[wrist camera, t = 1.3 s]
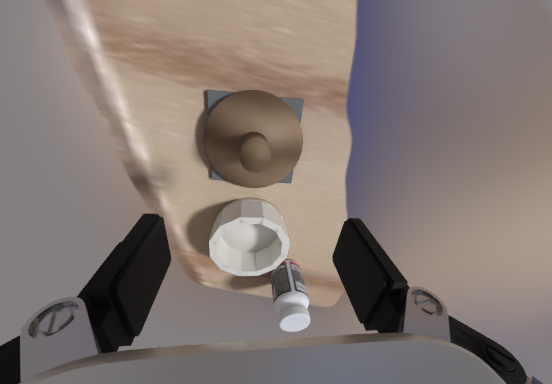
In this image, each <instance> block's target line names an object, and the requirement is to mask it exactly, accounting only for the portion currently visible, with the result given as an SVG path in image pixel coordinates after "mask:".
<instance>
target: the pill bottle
mask: <svg viewBox="0 0 552 384" xmlns="http://www.w3.org/2000/svg"><path fill="white" fill-rule="evenodd" d="M270 276H271V284H272V294H273V302H274V309H275V311H276V312H277V313H278V314H279V317H278V318H279V324H280V327H281V329H283V330H284V331H288V332H295V331H300V330H302V329H304V328H306V327H307V326H308V325H309V324H310V316H309V312H308V310H307V308H308V305H309V300H308V296H307V292H306V288H305V285H304V281H303V277H302V273H301V270H300V267H299V265H298V264H297V263H296V262H295V261H292V260H283V261H282V262H281V264H280V265H279V266H278V267H277V268H276V269H274V270H271V271H270Z"/></svg>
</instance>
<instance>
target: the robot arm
mask: <svg viewBox="0 0 552 384" xmlns="http://www.w3.org/2000/svg"><path fill="white" fill-rule="evenodd" d="M170 262H171V254H170V249H169V244H168V240H167V235H166V230H165V225H164V220H163V218H162V217H159V215H158V214H143V215H142V217H141V218H140V219H139V220H138V222H137V223H136V224H135V226H134V227H133V228H132V230H131V231H130V232H129V234H128V235H127V236H126V237H125V239H124V240H123V241H122V242H120V243H119V244H118V245H117V246H116V247H115V249H114V250H113V251H112V252H111V254H110V255H109V256H108V257H107V259H106V260H105V261H104V263H103V264H102V265H101V266H100V268H99V269H98V270H97V272H96V273H95V274H94V275H93V277H92V278H91V279H90V280H89V282H88V283H87V285H86V286H85V287H84V288H83V289H82V291H81V292H80V293H79V295H78V296H77V297H68V298H62V299H59V300H57V301H54V302H52V303H50V304H48V305H46V306H45V307H43V308H41V309H40V310H39V311H37V312H36V313H34V314H33V315H32V316H31V318H29V319H28V320H27V322H26V323H25V325H24V326H23V328H22V330H21V334H20V336H18V337H16V338H14V339H12V340H11V341H9V342H7V343H5V344H3V345H1V346H0V384H542V383H541V382H540V381H538V380H537V379H536V378H534V377H533V376H532V377H530V378H529V377H527V376H526V373H525V371H524V369H523V367H522V366H521V364H520V363H519V362H518V360H517V359H516V358H515V357H514V356H513V355H512V354H511V353H510V352H509V351H507V350H506V349H505V348H504V347H502V346H501V345H499V344H498V343H496V342H495V341H493V340H491V339H489V338H487V337H486V336H484V335H482V334H481V333H479V332H477V331H475V330H474V329H472V328H470V327H468V326H467V325H465V324H463V323H461V322H460V321H458V320H456V319H454V318H453V317H451V316H449V315H448V312H447V309H446V307H445V305H444V303H443V302H442V301H441V300H440V299H439V298H438V297H437V296H436V295H434V294H433V293H432V292H430V291H428V290H426V289H424V288H421V287H411V288H409V286H408V285H407V283H408V282H407V281H406V279H405V278H404V276H403V275H402V274H401V273H400V272H399V270H398V269H397V267H396V266H395V265H394V263H393V262H392V261H391V259H390V258H389V257H388V255H387V254H386V253H385V251H384V250H383V249H382V247H381V246H380V245H379V243H378V242H377V241H376V239H375V238H374V237H373V235H372V234H371V233H370V231H369V230H368V229H367V228H366V226H365V225H364V223H363V222H362V221H361V220H360V219H358V218H349V219H348V220H347V221H345V222H344V224H343V227H342V230H341V233H340V236H339V239H338V242H337V245H336V248H335V251H334V253H333V263H334V265H335V267H336V269H337V272H338V274H339V276H340V279H341V281H342V283H343V285H344V288H345V290H346V292H347V295H348V297H349V299H350V301H351V304H352V306H353V308H354V311H355V313H356V315H357V318H358V320H359V321H360V323H363V325H364V327H365V329H366V331H369V330H377V331H378V333H373V334H352V335H335V336H318V337H302V338H286V339H271V340H256V341H243V342H226V343H212V344H198V345H184V346H170V347H159V348H148V349H137V350H126V351H119V352H117V350H118V348H119V346H131V344H132V342H133V340H134V337H135V336H138V335H139V334H140V332H141V331H142V328H143V326H144V324H145V321H146V319H147V316H148V314H149V311H150V309H151V307H152V305H153V302H154V300H155V298H156V295H157V293H158V291H159V288H160V286H161V284H162V281H163V279H164V277H165V274H166V272H167V269H168V267H169V265H170Z"/></svg>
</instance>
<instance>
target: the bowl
mask: <svg viewBox="0 0 552 384" xmlns="http://www.w3.org/2000/svg"><path fill="white" fill-rule="evenodd" d="M289 242H290V241H289V237H288V233H287V229H286V224H285V222H284V220H283V217H282V215H281V213H280V211H279V210H278V209H277V208H276V207H275V206H274V205H273V204H271V203H269V202H267V201H265V200H262V199H258V198H243V199H238V200H235V201H233V202H231V203H229V204H228V205H226V206H225V207H224V208H223V209H222V210H221V211H220V212H219V214H218V216H217V218H216V221H215V222H214V224H213V228H212V232H211V236H210V240H209V247H210V258H211V259H212V260H213V261H214V262H215V263H216V264H217V265H218V266H219V268H220V269H221V270H224V271H226V272H229V273H232V274H234V275H237V276H259V275H261V274H264V273H266V272H269V271H271V270H274V269H276V268H277V267H278V266H279V265H280V264H281V262H282V261H283V260H284V259H285V258H286V257H287V254H288V248H289Z"/></svg>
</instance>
